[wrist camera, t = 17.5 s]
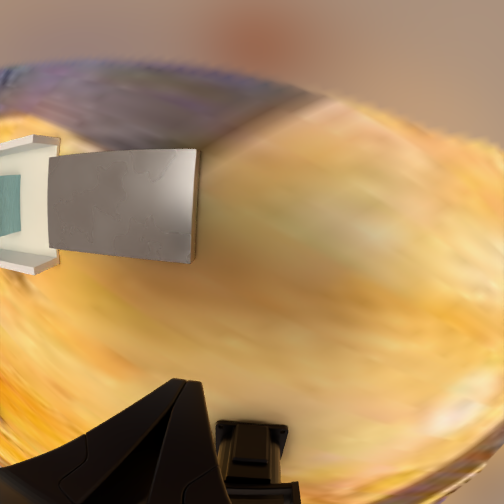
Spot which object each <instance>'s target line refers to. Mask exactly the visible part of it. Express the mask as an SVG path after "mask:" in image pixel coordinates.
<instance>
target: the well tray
mask: <svg viewBox="0 0 504 504" xmlns="http://www.w3.org/2000/svg"><path fill="white" fill-rule="evenodd" d="M59 147H60V138H55V137H48V136H41V135H29V136H25V137H22V138H18V139H14V140H11V141H7V142H4V143H0V176H4V175H21V180H20V220H21V231H19V232H15V233H12V234H8V235H5V236H1V237H0V267H1V268H5V269H9V270H14V271H18V272H22V273H26V274H31V275H37V274H39V273H41V272H43V271H45V270H47V269H49V268H51V267H54V266H56V265H58V264H60V261H59V250H58V249H53V248H49V238H48V215H47V189H48V166H49V157H56V156H59Z"/></svg>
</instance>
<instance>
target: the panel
mask: <svg viewBox="0 0 504 504" xmlns="http://www.w3.org/2000/svg"><path fill="white" fill-rule="evenodd" d="M200 157H201V151H199V150H197V149H147V150H123V151H107V152H94V153H83V154H73V155H64V156H56V157H49V166H48V189H47V215H48V238H49V248H53V249H61V250H69V251H78V252H86V253H95V254H103V255H112V256H121V257H130V258H139V259H148V260H158V261H168V262H177V263H187V264H191V263H192V262H193V260H194V259H195V242H196V218H197V200H198V184H199V170H200Z"/></svg>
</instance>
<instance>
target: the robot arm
mask: <svg viewBox="0 0 504 504" xmlns="http://www.w3.org/2000/svg"><path fill="white" fill-rule="evenodd" d="M283 430H284V431H283ZM287 435H288V427H286V426H277V425H259V424H246V423H236V422H227V421H218V422H217V423H216V449H215V445H214V441H213V436H212V431H211V427H210V422H209V417H208V412H207V407H206V402H205V397H204V391H203V386H202V383H201V382H199V381H191V380H189V381H186V380H184V379H177V378H173V379H171V380H169V381H168V382H166V383H165V384H163V385H162V386H160V387H159V388H157V389H156V390H154V391H153V392H151V393H150V394H148V395H147V396H145V397H143V398H142V399H140V400H139V401H137V402H136V403H134V404H133V405H131V406H129V407H128V408H126V409H125V410H123V411H121V412H120V413H118V414H117V415H115V416H113V417H112V418H110V419H108V420H107V421H105V422H103V423H102V424H100V425H98V426H97V427H95V428H93V429H92V430H90V431H88V432H87V433H86V435H85V434H83V435H81V436H79V437H78V438H76V439H74V440H72V441H70V442H68V443H66V444H64V445H63V446H61V447H58V448H56V449H54V450H52V451H49V452H47V453H44V454H42V455H39V456H37V457H34V458H31V459H28V460H25V461H23V462H20V463H17V464H14V465H11V466H7V467H2V468H0V504H301V500H300V492H299V484H298V481H296V482H291V483H281V472H280V460H281V456H282V453H283V449H284V446H285V442H286V439H287Z"/></svg>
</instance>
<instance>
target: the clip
mask: <svg viewBox="0 0 504 504" xmlns="http://www.w3.org/2000/svg"><path fill="white" fill-rule="evenodd" d="M20 180H21V175H4V176H0V237H1V236H5V235H8V234H12V233H15V232H19V231H21V220H20Z"/></svg>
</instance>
